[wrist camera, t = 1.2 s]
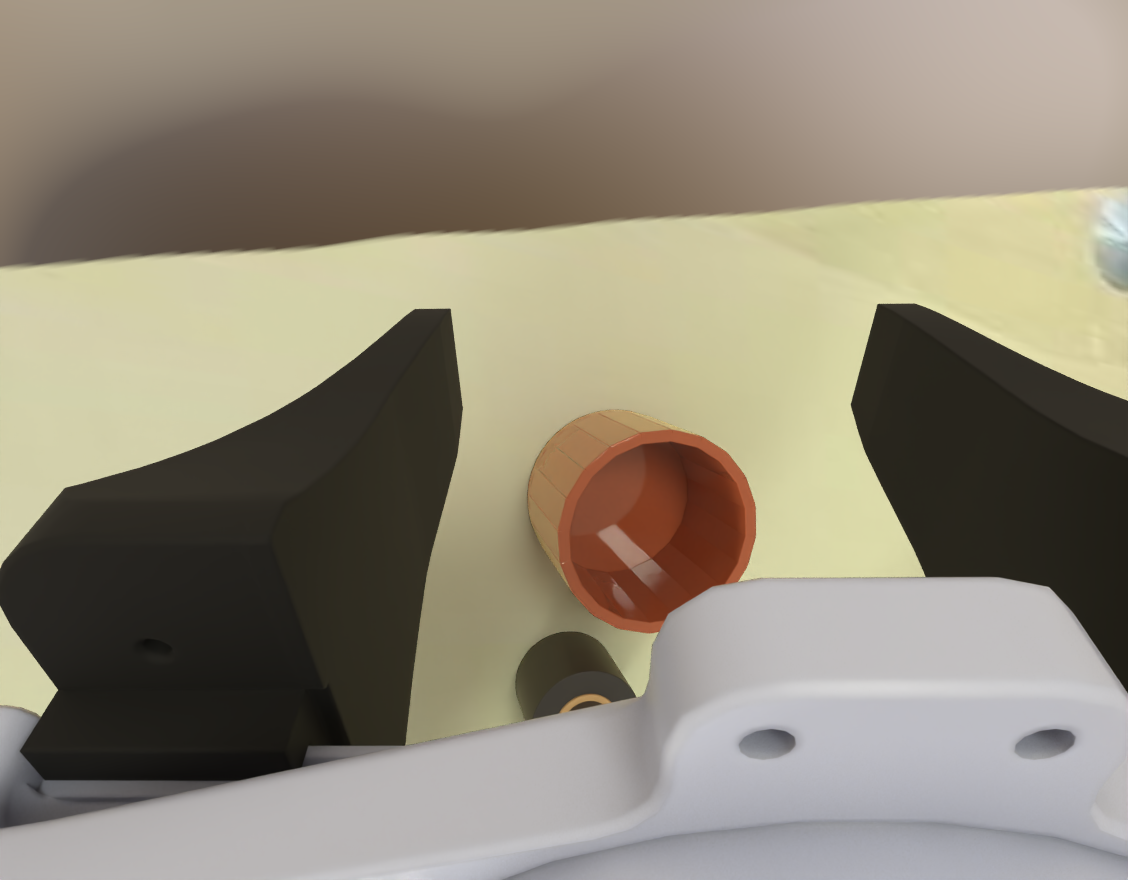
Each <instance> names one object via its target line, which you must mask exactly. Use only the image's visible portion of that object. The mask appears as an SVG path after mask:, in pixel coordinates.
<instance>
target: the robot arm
mask: <svg viewBox="0 0 1128 880" xmlns="http://www.w3.org/2000/svg"><path fill="white" fill-rule="evenodd" d="M851 407H852V411H853V414H854V418H855V421H856V425H857V429H858V432H859V435H860V438H861V441H862V444H863V447H864V450H865V453H866V455H867V457H868V459H869V461H870V463H871V465H872V467H873V469H874V471H875V473H876V475H877V477H878V480H879V482H880V484H881V486H882V488H883V490H884V492H885V494H886V496H887V498H888V499H889V501H890V503H891V505H892V507H893V509H894V511H895V513H896V515H897V517H898V519H899V521H900V523H901V525H902V527H903V529H904V531H905V533H906V535H907V537H908V539H909V541H910V543H911V545H912V547H913V549H914V551H915V553H916V555H917V558H918V560H919V562H920V564H921V567H922V569H923V571H924V574H925V576H926V577H842V578H757V579H752V580H746V581H741V582H735V583H729V584H724V585H718V586H713V587H711V588H709V589H708V590H706V591H704V592H703V593H701V594H699V595H698V596H696V597H695V598H693V599H691V600H690V601H688V602H686V603H685V604H683V605H681V606H680V607H678V608H676V609H675V610H673V611H672V612H670V613H669V614H668V616H667V618H666V619H665V621H664V623H663V625H662V627H661V629H660V631H659V633H658V635H657V637H656V639H655V641H654V643H653V645H652V651H651V663H650V674H649V681H648V684H647V687H646V690H645V693H644V694H643V695H642V696H640V697H636V698H631V699H626V700H621V701H616V702H612V703H607V704H602V705H597V706H593V707H588V708H583V709H578V710H573V711H569V712H564V713H559V714H554V715H550V716H545V717H540V718H535V719H531V720H526V721H521V722H516V723H511V724H507V725H502V726H497V727H492V728H488V729H483V730H478V731H473V732H468V733H464V734H459V735H454V736H449V737H445V738H440V739H435V740H430V741H425V742H421V743H416V744H411V745H406V746H405V742H406V732H407V723H408V714H409V705H410V696H411V687H412V678H413V670H414V662H415V655H416V647H417V639H418V631H419V623H420V617H421V610H422V603H423V596H424V589H425V582H426V575H427V570H428V566H429V561H430V556H431V552H432V548H433V545H434V541H435V537H436V533H437V530H438V526H439V522H440V519H441V515H442V511H443V507H444V504H445V500H446V496H447V493H448V489H449V485H450V481H451V477H452V474H453V470H454V466H455V462H456V458H457V454H458V446H459V438H460V429H461V420H462V410H463V406H462V398H461V390H460V382H459V374H458V366H457V358H456V349H455V341H454V333H453V325H452V317H451V309H415V310H413V311H412V312H410V313H409V314H408V315H406V316H405V317H404V318H403V319H401V320H400V321H399V322H398V323H397V324H396V325H394V326H393V327H392V328H391V329H390V330H389V331H387V332H386V333H385V334H384V335H383V336H382V337H380V338H379V339H378V340H377V341H376V342H374V343H373V344H372V345H371V346H370V347H368V348H367V349H366V350H365V351H364V352H362V353H361V354H360V355H359V356H358V357H356V358H355V359H354V360H352V361H351V362H350V363H348V364H347V365H346V366H344V367H343V368H341V369H340V370H339V371H337V372H336V373H335V374H333V375H332V376H331V377H329V378H328V379H326V380H325V381H324V382H322V383H321V384H320V385H318V386H317V387H315V388H314V389H312V390H311V391H309V392H308V393H306V394H304V395H303V396H301V397H300V398H298V399H296V400H295V401H293V402H291V403H289V404H288V405H286V406H284V407H282V408H281V409H279V410H277V411H275V412H274V413H272V414H270V415H268V416H266V417H264V418H262V419H260V420H258V421H256V422H254V423H252V424H249V425H247V426H245V427H243V428H241V429H239V430H237V431H235V432H232V433H230V434H228V435H226V436H224V437H222V438H220V439H217V440H215V441H213V442H210V443H208V444H205V445H202V446H200V447H197V448H195V449H192V450H190V451H187V452H184V453H182V454H179V455H176V456H173V457H170V458H167V459H165V460H162V461H159V462H156V463H153V464H150V465H147V466H143V467H140V468H137V469H133V470H130V471H126V472H123V473H119V474H115V475H112V476H108V477H105V478H101V479H98V480H94V481H90V482H87V483H83V484H79V485H75V486H71V487H67V488H65V489H64V490H63V491H62V492H61V493H60V494H59V496H58V497H57V498H56V499H55V500H54V502H53V503H52V504H51V505H50V506H49V508H48V509H47V510H46V511H45V512H44V514H43V515H42V516H41V517H40V519H39V520H38V521H37V522H36V523H35V525H34V526H33V527H32V528H31V529H30V531H29V532H28V533H27V534H26V535H25V537H24V538H23V539H22V540H21V541H20V543H19V544H18V545H17V546H16V547H15V549H14V550H13V551H12V552H11V553H10V555H9V556H8V557H7V558H6V560H5V561H4V562H3V564H2V566H1V569H0V606H1V608H2V610H3V612H4V614H5V616H6V617H7V619H8V621H9V623H10V625H11V627H12V628H13V629H14V631H15V632H16V633H17V635H18V636H19V637H20V639H21V640H22V642H23V643H24V644H25V646H26V647H27V648H28V650H29V651H30V652H31V654H32V655H33V656H34V658H35V659H36V660H37V662H38V663H39V664H40V666H41V667H42V668H43V670H44V671H45V673H46V674H47V675H48V677H49V678H50V679H51V681H52V682H53V683H54V685H55V686H56V687H57V689H58V691H57V693H56V694H55V696H54V698H53V699H52V701H51V702H50V704H49V705H48V707H47V709H46V710H45V712H44V713H43V715H42V717H40V716H39V715H38V714H37V713H34V712H32V711H29V710H26V709H24V708H21V707H14V706H7V705H0V880H1128V401H1127V400H1124V399H1121V398H1119V397H1116V396H1113V395H1111V394H1108V393H1105V392H1103V391H1100V390H1098V389H1095V388H1093V387H1090V386H1088V385H1086V384H1083V383H1081V382H1079V381H1076V380H1074V379H1072V378H1070V377H1067V376H1065V375H1063V374H1061V373H1059V372H1056V371H1054V370H1052V369H1050V368H1048V367H1045V366H1043V365H1041V364H1039V363H1037V362H1035V361H1033V360H1031V359H1029V358H1027V357H1025V356H1023V355H1021V354H1019V353H1017V352H1015V351H1013V350H1011V349H1009V348H1007V347H1005V346H1003V345H1001V344H999V343H997V342H995V341H993V340H991V339H989V338H987V337H985V336H983V335H981V334H979V333H978V332H976V331H974V330H972V329H970V328H968V327H966V326H964V325H962V324H960V323H958V322H956V321H954V320H952V319H950V318H948V317H946V316H944V315H942V314H940V313H937V312H935V311H933V310H931V309H928V308H926V307H923V306H920V305H917V304H878V305H877V309H876V312H875V316H874V320H873V324H872V327H871V331H870V335H869V339H868V342H867V346H866V350H865V354H864V357H863V361H862V365H861V368H860V372H859V376H858V380H857V383H856V387H855V391H854V395H853V398H852V402H851Z"/></svg>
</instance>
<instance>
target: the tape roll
mask: <svg viewBox="0 0 1128 880" xmlns="http://www.w3.org/2000/svg"><path fill="white" fill-rule="evenodd" d="M516 693H517V697H518V700H519V703H520V706H521V709H522V712H523V715H524V718H525V721H526V720H531V719H535V718H540V717H545V716H550V715H554V714H559V713H564V712H569V711H573V710H578V709H583V708H588V707H593V706H597V705H602V704H607V703H612V702H616V701H621V700H626V699H631V698H636V695H635V693H634V692H633V690H632V689H631V687H630V686H629V684H628V682H627V681H626V679H625V678H624V676H623V675H622V673H621V672H620V670H619V669H618V667H617V665H616V664H615V662H614V661H613V659H612V658H611V656H610V655H609V653H608V652H607V650H606V649H605V647H604V646H603V645H602V644H601V643H600V642H599V641H597V640H596V639H594V638H593V637H591V636H589V635H586V634H583V633H578V632H562V633H557V634H554V635H551V636H549V637H547V638H545V639H543V640H541V641H540V642H538V643H537V644H536V645H535V646H533V647H532V648H531V649H530V650H529V651H528V653H527V654H526V655H525V657H524V658H523V660H522V662H521V664H520V666H519V669H518V672H517V676H516Z"/></svg>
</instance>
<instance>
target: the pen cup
mask: <svg viewBox="0 0 1128 880" xmlns="http://www.w3.org/2000/svg"><path fill="white" fill-rule="evenodd" d="M528 511H529V517H530V520H531V524H532V527H533V529H534V532H535V534H536V536H537V538H538V540H539V542H540V544H541V546H542V548H543V549H544V551H545V552H546V554H547V555H548V557H549V558H550V560H551V561H552V563H553V564H554V566H555V567H556V569H557V570H558V572H559V574H560V575H561V577H562V578H563V580H564V581H565V583H566V584H567V586H568V587H569V589H570V590H571V592H572V593H573V594H574V595H575V597H576V598H577V599H578V600H579V601H580V602H581V603H582V604H583V605H584V606H585V608H586V609H587V610H588V611H589V612H590V613H591V614H593V616H595V617H597V618H599V619H601V620H603V621H605V622H606V623H608V624H610V625H612V626H614V627H616V628H618V629H622V630H629V631H635V632H642V633H655V632H659V631H660V629H661V627H662V625H663V623H664V621H665V619H666V618H667V616H668V614H669V613H670V612H672V611H673V610H675V609H676V608H678V607H680V606H681V605H683V604H685V603H686V602H688V601H690V600H691V599H693V598H695V597H696V596H698V595H699V594H701V593H703V592H704V591H706V590H708V589H709V588H711V587H713V586H718V585H724V584H729V583H735V582H738V581H739V579H740V578H741V576H742V574H743V573H744V571H745V570H746V568H747V566H748V563H749V559H750V556H751V552H752V549H753V545H754V542H755V538H756V507H755V502H754V499H753V496H752V494H751V491H750V488H749V485H748V482H747V479H746V477H745V475H744V473H743V472H742V471H741V470H740V468H739V467H738V466H737V464H736V463H735V462H734V460H733V459H732V458H731V457H730V455H729V454H728V453H727V452H726V451H724V450H723V449H721V448H720V447H718V446H716V445H715V444H713V443H712V442H710V441H709V440H707V439H706V438H704V437H702V436H700V435H697V434H694V433H692V432H689V431H687V430H684V429H681V428H679V427H676V426H674V425H671V424H668V423H666V422H663V421H661V420H658V419H655V418H653V417H650V416H647V415H643V414H640V413H636V412H632V411H626V410H604V411H598V412H594V413H591V414H587V415H585V416H582V417H580V418H578V419H576V420H574V421H572V422H571V423H569V424H568V425H566V426H565V427H563V428H562V429H561V430H560V431H558V432H557V433H556V434H555V435H554V436H553V437H552V438H551V439H550V440H549V442H548V443H547V444H546V446H545V447H544V448H543V450H542V451H541V453H540V455H539V457H538V458H537V460H536V462H535V465H534V467H533V470H532V473H531V477H530V480H529V486H528Z"/></svg>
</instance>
